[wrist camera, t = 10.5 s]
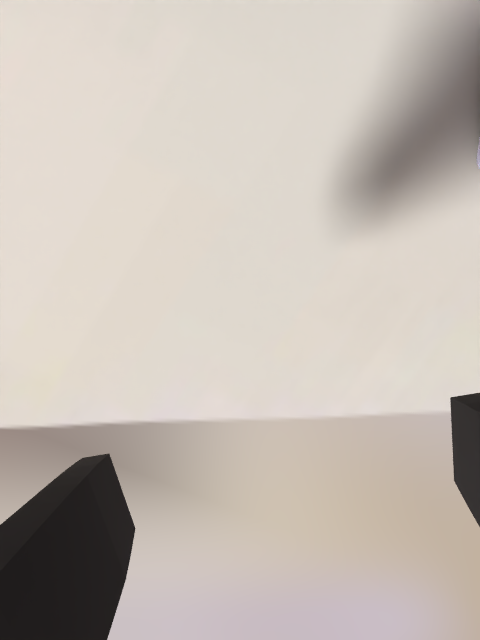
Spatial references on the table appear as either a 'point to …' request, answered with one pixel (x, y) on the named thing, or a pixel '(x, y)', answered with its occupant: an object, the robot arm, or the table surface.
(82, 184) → the table surface
